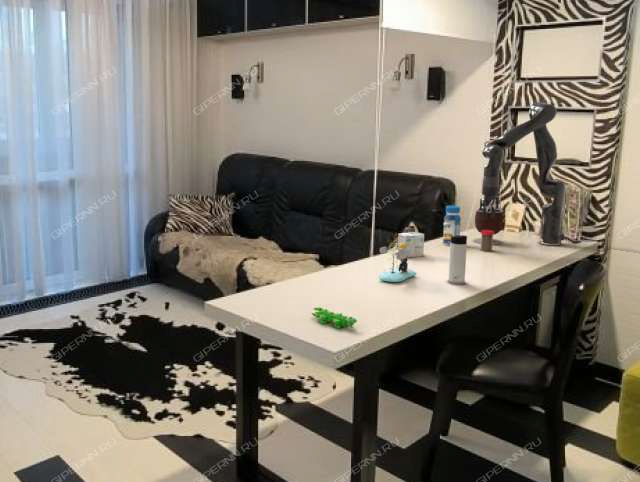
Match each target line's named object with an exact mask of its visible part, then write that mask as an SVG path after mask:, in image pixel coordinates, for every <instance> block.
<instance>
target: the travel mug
mask: <svg viewBox="0 0 640 482" xmlns="http://www.w3.org/2000/svg"><path fill="white" fill-rule="evenodd" d="M450 243H451V244H450V246H449V264H448V283H449V284H452V285H459V286H460V285H464V284H466V283H465V282H466V266H467V265H466V263H467V249H468V248H467V246H468V236H467V235H461V234H460V235H457V236H451V242H450Z"/></svg>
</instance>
